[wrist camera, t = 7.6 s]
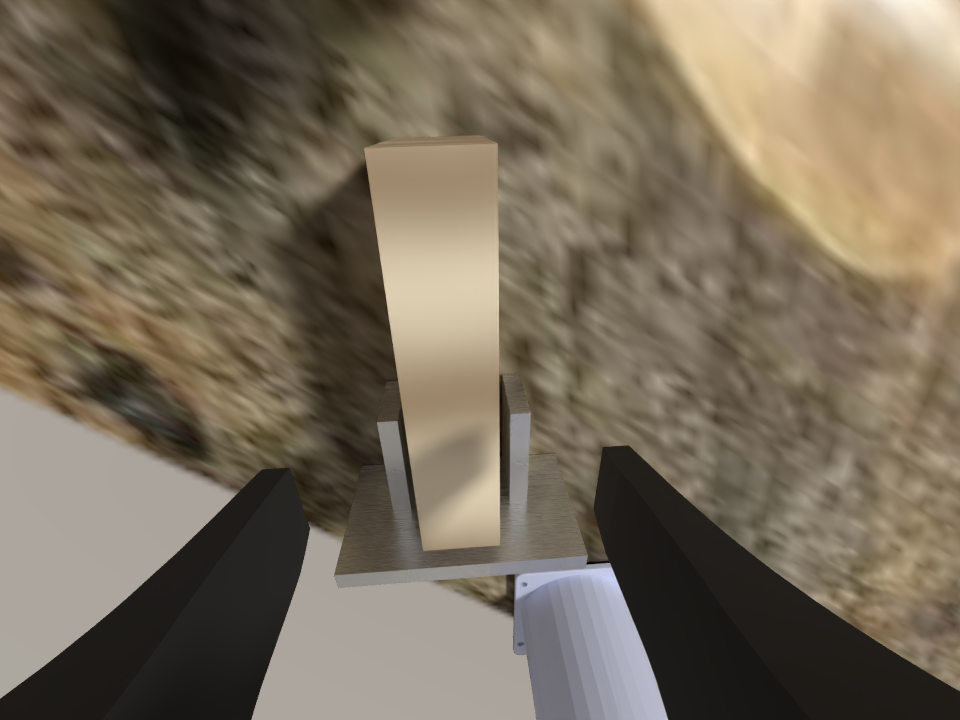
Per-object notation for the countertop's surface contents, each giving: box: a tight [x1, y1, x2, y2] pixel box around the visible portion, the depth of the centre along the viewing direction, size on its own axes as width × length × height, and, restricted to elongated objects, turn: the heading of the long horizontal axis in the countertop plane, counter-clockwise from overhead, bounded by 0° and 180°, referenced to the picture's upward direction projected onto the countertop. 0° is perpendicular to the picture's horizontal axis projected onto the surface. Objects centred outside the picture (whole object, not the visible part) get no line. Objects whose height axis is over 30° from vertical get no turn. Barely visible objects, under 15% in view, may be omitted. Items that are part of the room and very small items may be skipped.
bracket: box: [334, 374, 588, 588], centre depth 18 cm, size 6×10×6 cm, turn 92°
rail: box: [364, 135, 500, 551], centre depth 16 cm, size 14×3×6 cm, turn 2°
